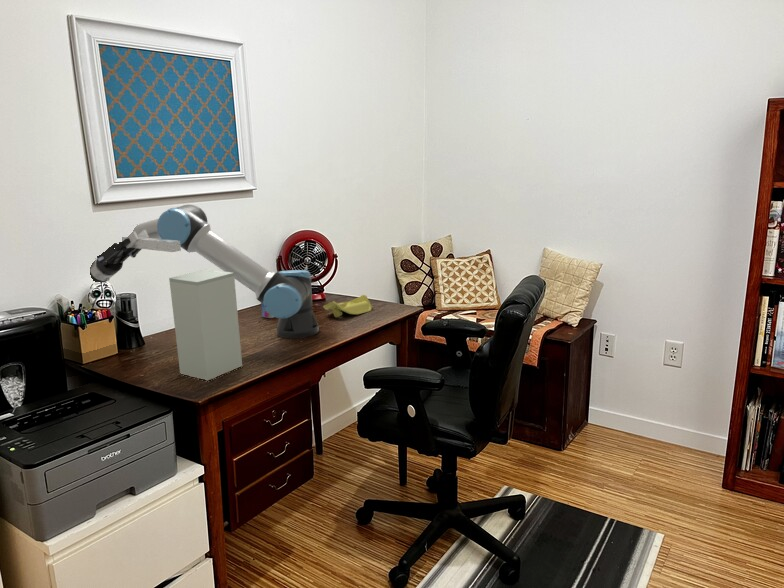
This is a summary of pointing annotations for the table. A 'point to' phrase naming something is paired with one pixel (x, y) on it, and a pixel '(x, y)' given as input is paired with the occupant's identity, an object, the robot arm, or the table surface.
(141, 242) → the rail bar
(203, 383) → the table surface
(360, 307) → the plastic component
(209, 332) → the pedestal
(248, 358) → the table surface
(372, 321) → the table surface
